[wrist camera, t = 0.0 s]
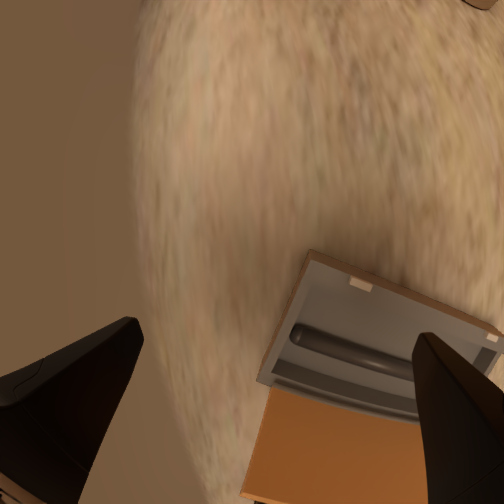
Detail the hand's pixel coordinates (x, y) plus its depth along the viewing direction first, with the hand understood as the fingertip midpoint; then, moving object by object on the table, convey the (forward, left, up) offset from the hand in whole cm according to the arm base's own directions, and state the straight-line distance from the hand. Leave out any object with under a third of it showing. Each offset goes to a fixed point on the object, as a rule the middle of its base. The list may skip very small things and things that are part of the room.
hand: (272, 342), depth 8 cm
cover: (-5, -15, -6) cm, 17 cm away
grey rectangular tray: (-1, -13, -15) cm, 20 cm away
